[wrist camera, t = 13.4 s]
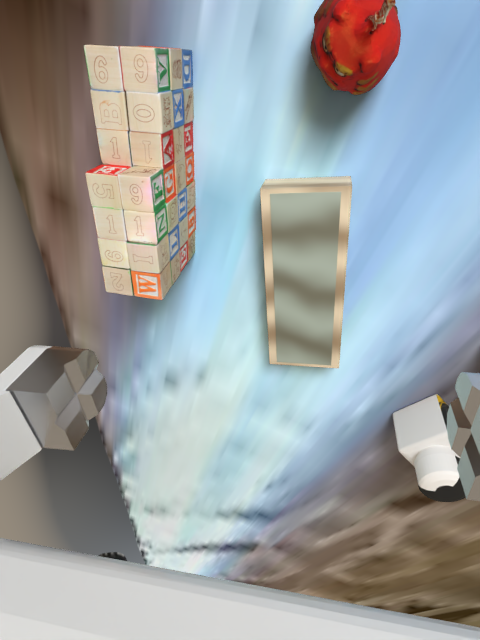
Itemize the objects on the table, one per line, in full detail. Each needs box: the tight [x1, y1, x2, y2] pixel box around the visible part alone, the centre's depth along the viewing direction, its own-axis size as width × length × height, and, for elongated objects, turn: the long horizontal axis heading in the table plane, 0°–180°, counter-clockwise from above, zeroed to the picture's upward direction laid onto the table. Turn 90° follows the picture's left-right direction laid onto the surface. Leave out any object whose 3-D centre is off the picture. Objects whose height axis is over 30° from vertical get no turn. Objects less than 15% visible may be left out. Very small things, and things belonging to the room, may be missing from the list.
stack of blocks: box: [84, 45, 196, 300], centre depth 39 cm, size 21×6×12 cm, turn 177°
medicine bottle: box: [393, 394, 466, 502], centre depth 52 cm, size 7×7×12 cm
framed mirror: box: [260, 176, 352, 368], centre depth 46 cm, size 23×9×4 cm, turn 5°
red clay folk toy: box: [311, 0, 401, 95], centre depth 28 cm, size 8×7×15 cm
